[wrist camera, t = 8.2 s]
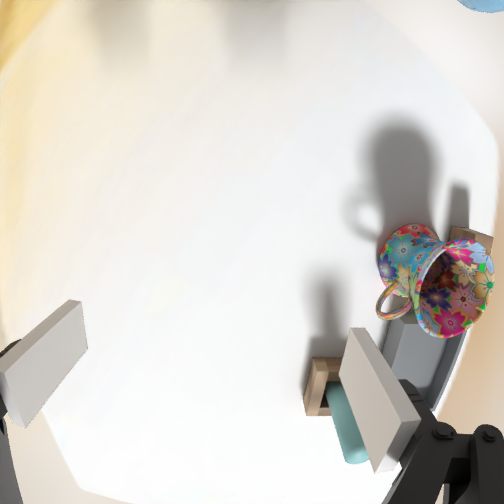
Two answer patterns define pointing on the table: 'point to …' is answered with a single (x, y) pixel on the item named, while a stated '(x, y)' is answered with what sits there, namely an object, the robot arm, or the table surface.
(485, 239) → the block
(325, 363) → the socket
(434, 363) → the tray
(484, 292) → the mug
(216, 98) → the table surface
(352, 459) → the dowel
